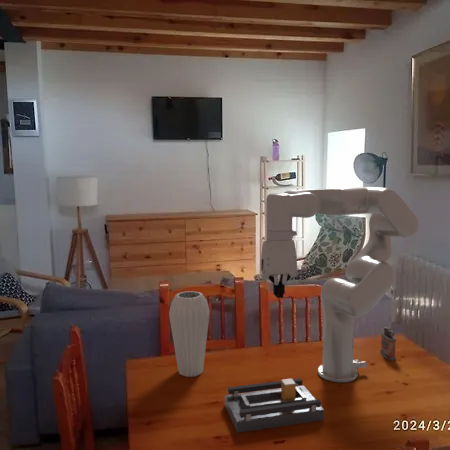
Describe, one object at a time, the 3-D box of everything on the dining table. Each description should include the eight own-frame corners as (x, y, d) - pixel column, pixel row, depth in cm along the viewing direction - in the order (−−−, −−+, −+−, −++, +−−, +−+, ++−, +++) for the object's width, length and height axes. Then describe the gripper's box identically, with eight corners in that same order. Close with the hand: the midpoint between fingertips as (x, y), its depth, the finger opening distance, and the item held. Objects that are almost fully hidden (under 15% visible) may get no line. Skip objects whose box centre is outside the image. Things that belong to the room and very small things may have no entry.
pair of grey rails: (300, 385, 138) (300, 378, 137) (320, 410, 124) (321, 402, 124) (227, 394, 133) (227, 387, 132) (241, 421, 119) (241, 413, 119)
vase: (205, 382, 147) (204, 301, 143) (165, 379, 149) (163, 299, 146) (214, 364, 160) (213, 289, 156) (177, 361, 162) (175, 288, 159)
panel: (303, 394, 138) (303, 379, 137) (323, 420, 125) (324, 402, 124) (224, 405, 133) (224, 388, 132) (237, 432, 119) (237, 414, 119)
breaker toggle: (291, 396, 131) (291, 378, 130) (295, 401, 128) (295, 383, 127) (281, 397, 130) (281, 379, 130) (285, 402, 128) (285, 384, 127)
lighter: (378, 351, 169) (379, 324, 168) (387, 350, 170) (388, 324, 168) (388, 360, 161) (389, 332, 160) (397, 359, 162) (398, 332, 160)
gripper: (298, 232, 141) (297, 291, 143) (250, 235, 137) (251, 295, 140) (308, 236, 133) (307, 298, 136) (258, 239, 130) (258, 302, 132)
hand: (278, 296), depth 138 cm, fingers closed
